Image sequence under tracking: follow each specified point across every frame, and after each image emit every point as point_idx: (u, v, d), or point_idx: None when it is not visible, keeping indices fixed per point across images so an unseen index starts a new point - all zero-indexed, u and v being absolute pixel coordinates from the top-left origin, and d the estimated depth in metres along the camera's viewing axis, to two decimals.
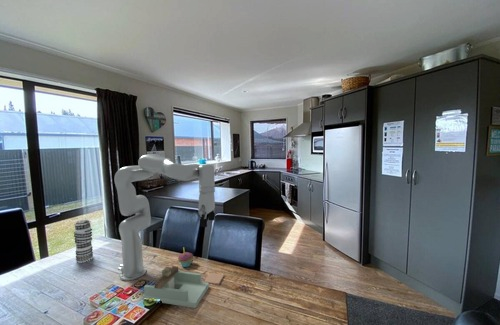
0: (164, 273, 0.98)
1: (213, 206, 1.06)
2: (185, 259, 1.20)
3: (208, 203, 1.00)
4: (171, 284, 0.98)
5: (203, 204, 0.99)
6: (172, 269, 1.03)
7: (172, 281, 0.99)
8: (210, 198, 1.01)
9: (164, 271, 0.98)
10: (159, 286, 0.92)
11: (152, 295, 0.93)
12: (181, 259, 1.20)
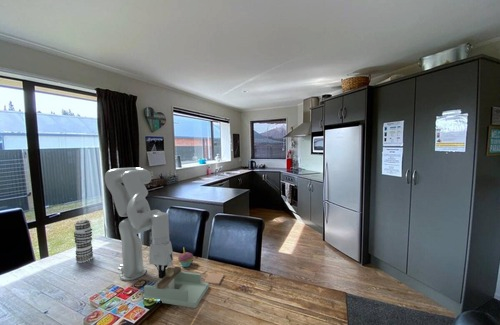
0: (167, 273, 0.98)
1: None
2: (185, 259, 1.20)
3: None
4: (171, 284, 0.98)
5: (170, 252, 0.98)
6: (174, 269, 1.03)
7: (172, 281, 0.99)
8: None
9: (167, 271, 0.98)
10: (162, 286, 0.92)
11: (152, 295, 0.93)
12: (181, 259, 1.20)
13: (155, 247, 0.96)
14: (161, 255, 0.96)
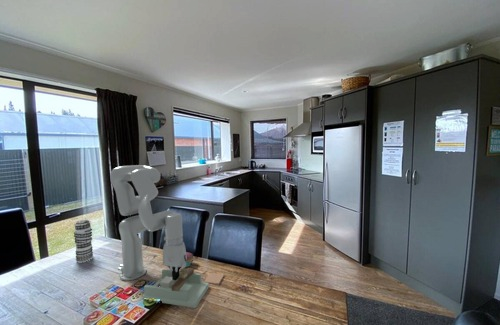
0: (180, 275, 0.96)
1: None
2: None
3: None
4: (171, 284, 0.98)
5: (184, 254, 0.97)
6: (188, 271, 1.02)
7: (172, 281, 0.99)
8: None
9: (180, 273, 0.96)
10: (176, 288, 0.90)
11: (152, 295, 0.93)
12: None
13: (169, 248, 0.95)
14: (175, 256, 0.94)
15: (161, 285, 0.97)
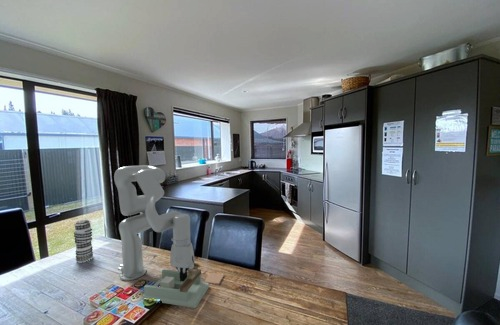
0: (188, 276, 0.95)
1: None
2: None
3: None
4: (171, 284, 0.98)
5: (192, 255, 0.96)
6: (195, 272, 1.01)
7: (172, 281, 0.99)
8: None
9: (188, 274, 0.95)
10: (185, 290, 0.89)
11: (152, 295, 0.93)
12: None
13: (177, 249, 0.94)
14: (183, 257, 0.94)
15: (161, 285, 0.97)
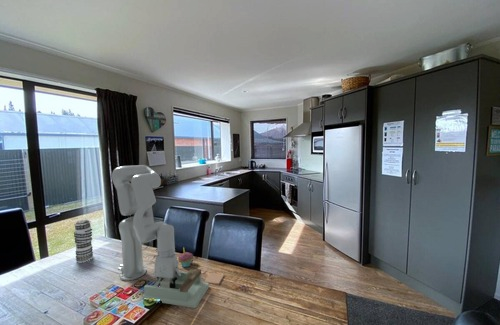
0: (188, 276, 0.95)
1: None
2: (185, 259, 1.20)
3: None
4: None
5: (176, 265, 0.98)
6: (195, 272, 1.01)
7: None
8: None
9: (188, 274, 0.95)
10: (185, 290, 0.89)
11: (152, 295, 0.93)
12: (181, 259, 1.20)
13: (161, 260, 0.96)
14: (167, 268, 0.96)
15: (161, 285, 0.97)
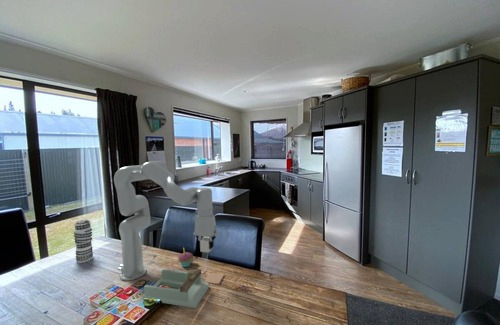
0: (188, 276, 0.95)
1: None
2: (185, 259, 1.20)
3: None
4: None
5: (214, 225, 1.05)
6: (195, 272, 1.01)
7: None
8: None
9: (188, 274, 0.95)
10: (185, 290, 0.89)
11: (152, 295, 0.93)
12: (181, 259, 1.20)
13: (201, 219, 1.04)
14: (207, 227, 1.03)
15: (201, 243, 1.05)
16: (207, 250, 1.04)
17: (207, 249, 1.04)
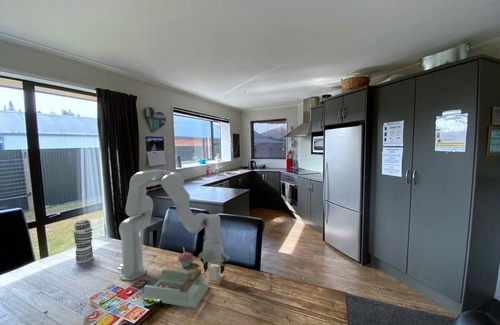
0: (188, 276, 0.95)
1: None
2: (185, 259, 1.20)
3: None
4: (217, 271, 1.08)
5: (222, 251, 1.08)
6: (195, 272, 1.01)
7: (218, 268, 1.09)
8: None
9: (188, 274, 0.95)
10: (185, 290, 0.89)
11: (152, 295, 0.93)
12: (181, 259, 1.20)
13: (209, 246, 1.06)
14: (215, 253, 1.05)
15: (209, 271, 1.07)
16: (215, 279, 1.07)
17: (215, 278, 1.07)
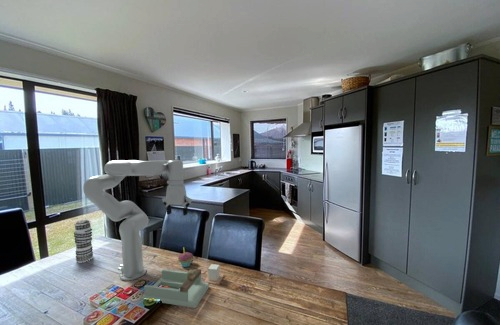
0: (188, 276, 0.95)
1: None
2: (185, 259, 1.20)
3: None
4: (217, 271, 1.08)
5: (185, 194, 1.12)
6: (195, 272, 1.01)
7: (218, 268, 1.09)
8: None
9: (188, 274, 0.95)
10: (185, 290, 0.89)
11: (152, 295, 0.93)
12: (181, 259, 1.20)
13: (171, 189, 1.10)
14: (177, 195, 1.09)
15: (209, 271, 1.07)
16: (215, 279, 1.07)
17: (215, 278, 1.07)
